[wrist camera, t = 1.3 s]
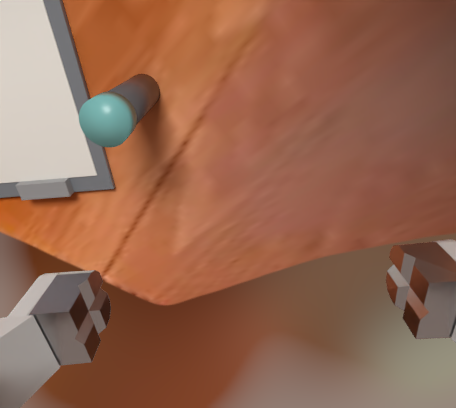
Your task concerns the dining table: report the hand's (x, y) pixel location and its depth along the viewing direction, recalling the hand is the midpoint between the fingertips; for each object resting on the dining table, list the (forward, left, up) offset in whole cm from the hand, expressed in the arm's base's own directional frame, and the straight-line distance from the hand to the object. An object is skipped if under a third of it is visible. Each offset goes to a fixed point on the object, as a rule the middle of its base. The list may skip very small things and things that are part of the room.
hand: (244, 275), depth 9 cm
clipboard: (-1, -23, -30) cm, 38 cm away
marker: (-1, -9, -30) cm, 31 cm away
